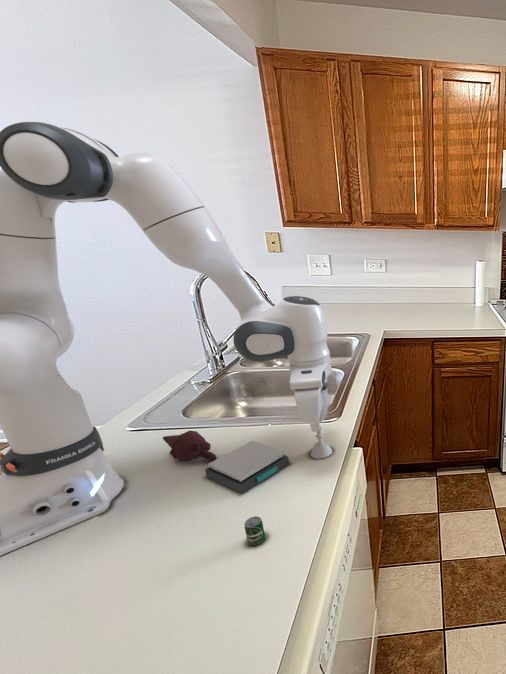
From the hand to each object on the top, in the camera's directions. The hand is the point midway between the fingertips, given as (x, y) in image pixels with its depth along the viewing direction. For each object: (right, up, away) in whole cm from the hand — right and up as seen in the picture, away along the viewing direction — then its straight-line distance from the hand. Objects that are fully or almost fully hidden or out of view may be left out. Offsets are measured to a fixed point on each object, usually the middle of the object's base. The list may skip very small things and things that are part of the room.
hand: (318, 419), depth 96 cm
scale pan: (-14, -9, -5) cm, 17 cm away
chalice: (0, -9, +3) cm, 9 cm away
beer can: (-2, -19, -23) cm, 30 cm away
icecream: (-31, -9, 0) cm, 32 cm away
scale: (-14, -11, -4) cm, 19 cm away
